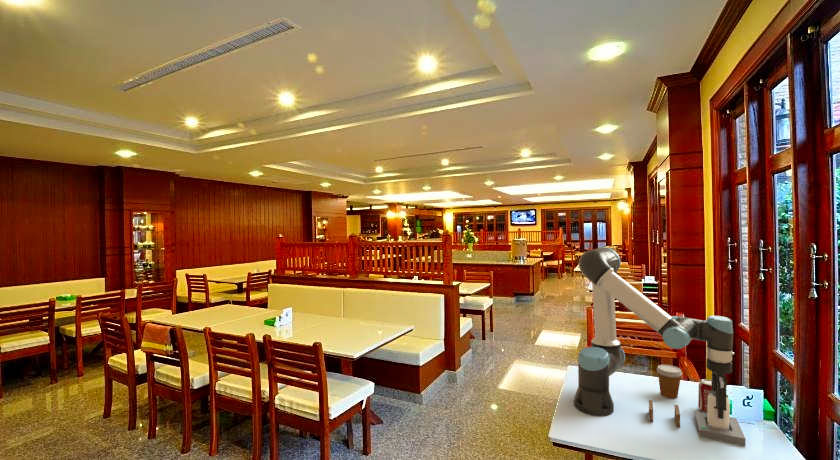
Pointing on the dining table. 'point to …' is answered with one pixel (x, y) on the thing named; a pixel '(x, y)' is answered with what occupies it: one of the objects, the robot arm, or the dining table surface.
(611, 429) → the dining table surface
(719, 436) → the port block
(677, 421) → the brown narrow blocks
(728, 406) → the can
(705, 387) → the soda can
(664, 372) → the disposable coffee cup
